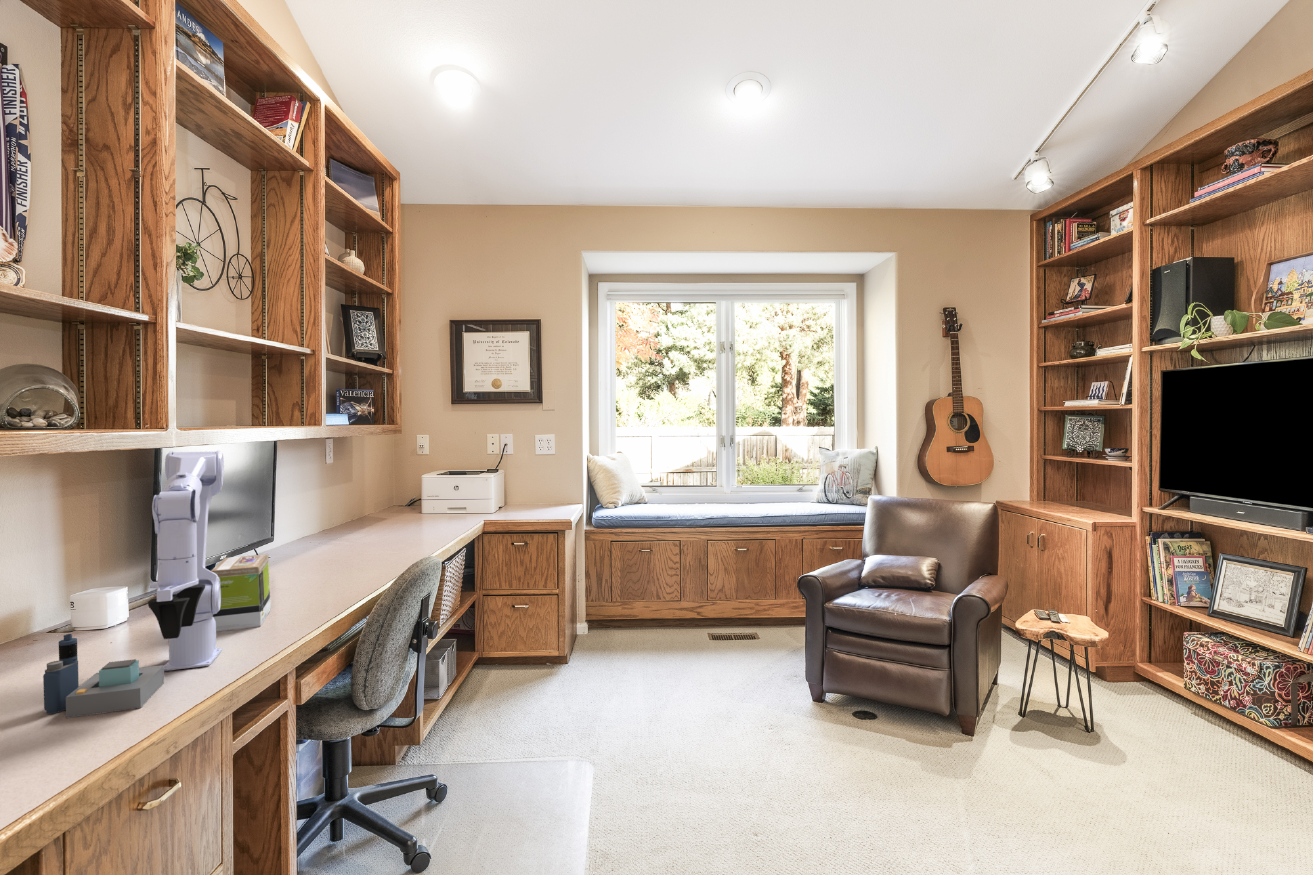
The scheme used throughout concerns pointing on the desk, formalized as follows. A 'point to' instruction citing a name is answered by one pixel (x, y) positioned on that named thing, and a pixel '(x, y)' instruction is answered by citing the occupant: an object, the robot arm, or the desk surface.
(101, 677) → the plug
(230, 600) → the tea box
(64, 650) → the vaping device
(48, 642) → the desk surface
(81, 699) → the socket
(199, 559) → the robot arm
